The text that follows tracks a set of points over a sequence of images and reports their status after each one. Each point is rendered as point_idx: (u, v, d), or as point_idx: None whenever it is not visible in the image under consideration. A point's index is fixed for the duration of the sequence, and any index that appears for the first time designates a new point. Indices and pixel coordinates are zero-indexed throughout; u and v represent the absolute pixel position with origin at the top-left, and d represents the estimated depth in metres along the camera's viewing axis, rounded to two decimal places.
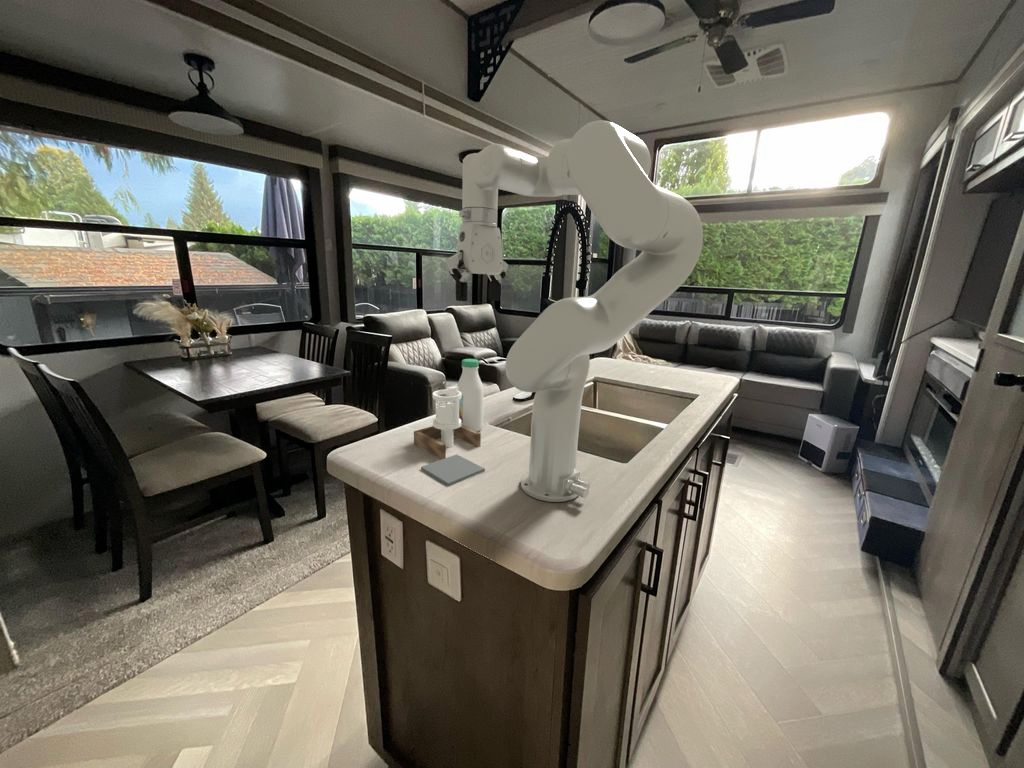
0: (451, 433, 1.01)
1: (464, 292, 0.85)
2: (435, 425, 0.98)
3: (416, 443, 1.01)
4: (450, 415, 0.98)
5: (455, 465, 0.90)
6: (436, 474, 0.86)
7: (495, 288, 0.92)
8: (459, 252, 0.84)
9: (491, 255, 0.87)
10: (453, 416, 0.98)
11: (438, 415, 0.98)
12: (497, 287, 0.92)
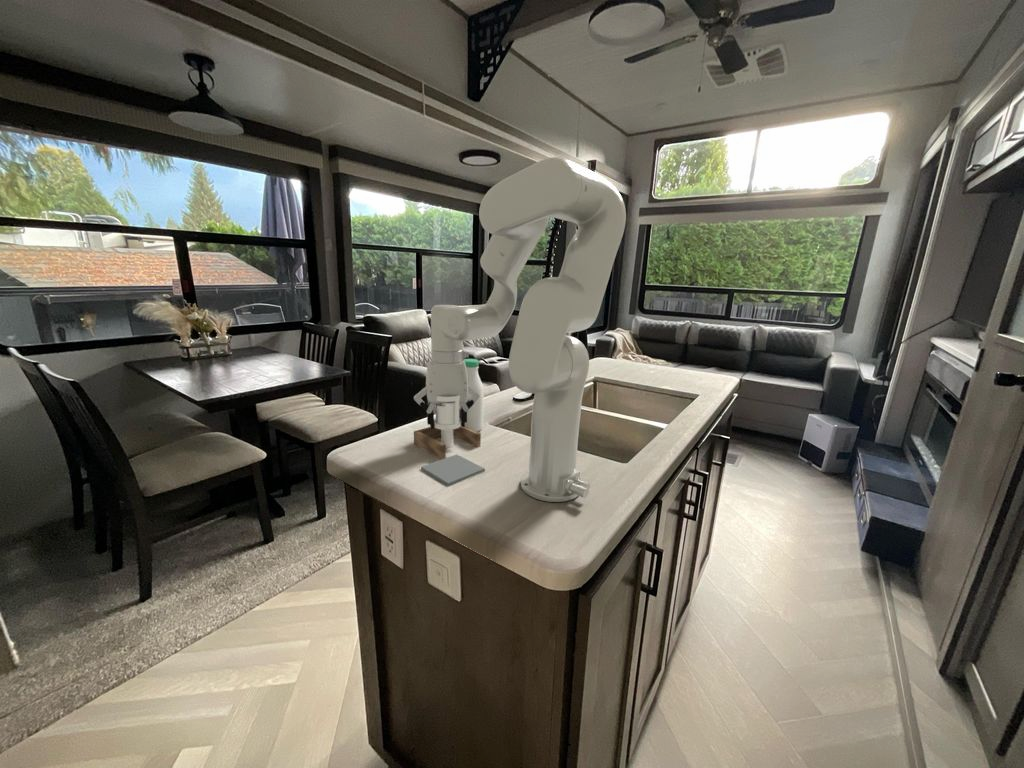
0: (451, 433, 1.01)
1: None
2: (435, 425, 0.98)
3: (416, 443, 1.01)
4: (450, 415, 0.98)
5: (455, 465, 0.90)
6: (436, 474, 0.86)
7: None
8: (468, 386, 1.00)
9: None
10: (453, 416, 0.98)
11: (438, 415, 0.98)
12: None
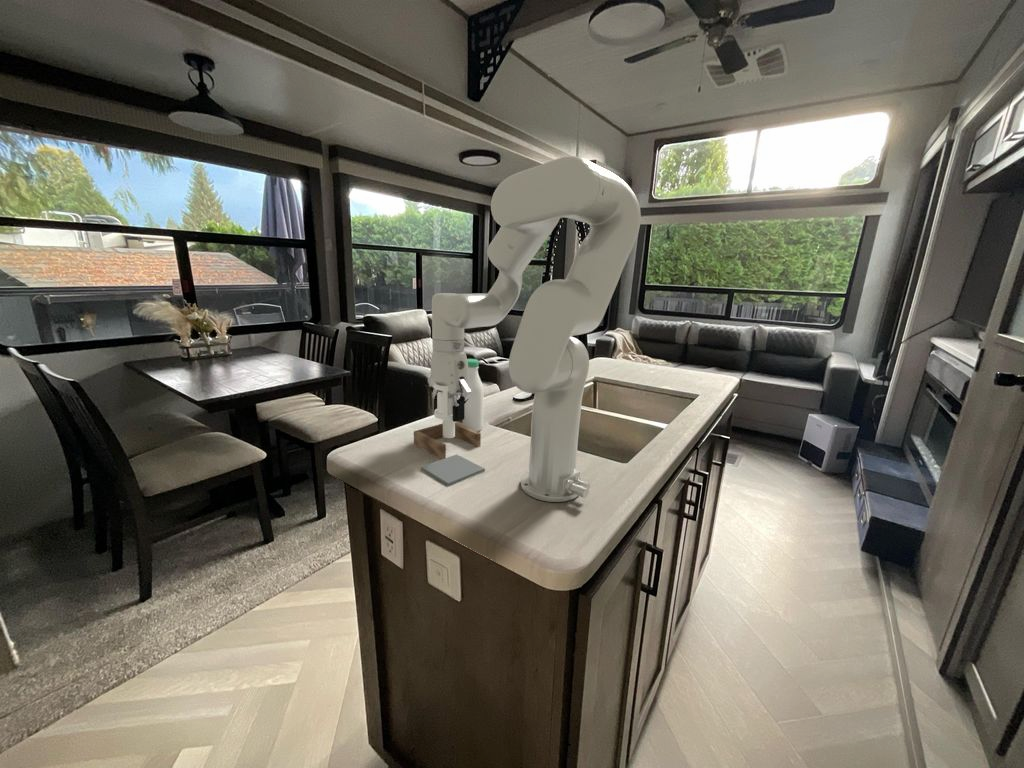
0: (447, 424, 0.99)
1: None
2: None
3: (416, 443, 1.01)
4: (440, 404, 0.97)
5: (455, 465, 0.90)
6: (436, 474, 0.86)
7: None
8: (461, 380, 0.94)
9: None
10: None
11: None
12: None
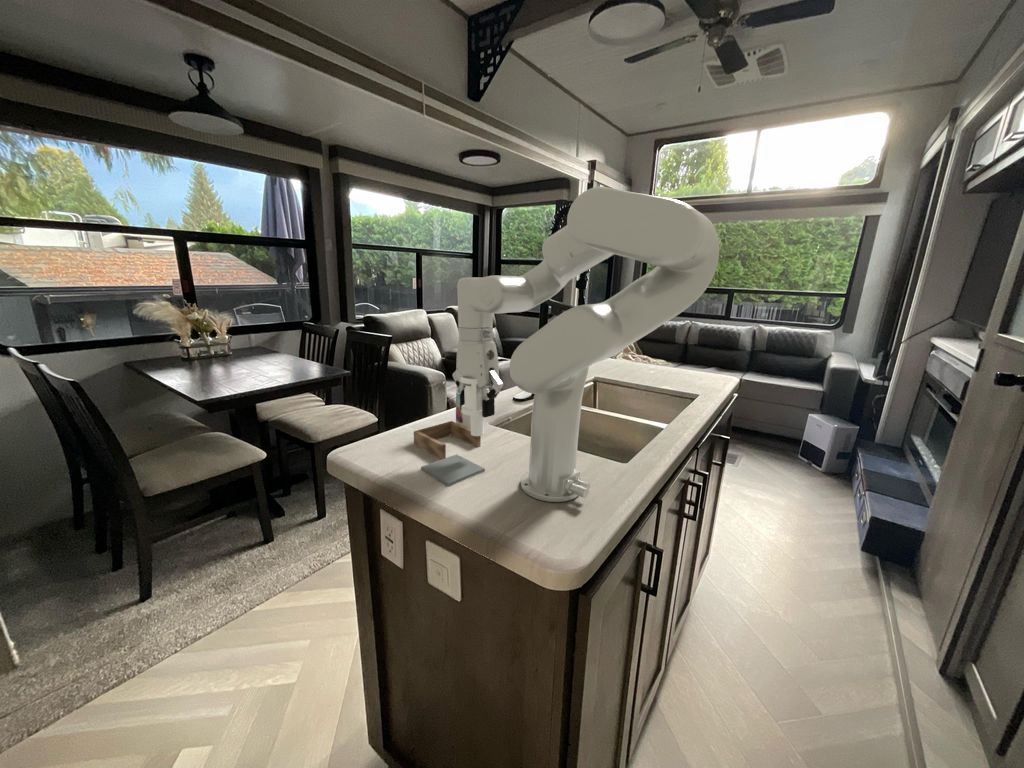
0: (475, 421, 0.91)
1: (493, 407, 0.90)
2: None
3: (416, 443, 1.01)
4: (468, 399, 0.89)
5: (455, 465, 0.90)
6: (436, 474, 0.86)
7: None
8: (491, 372, 0.86)
9: None
10: (471, 401, 0.89)
11: None
12: None
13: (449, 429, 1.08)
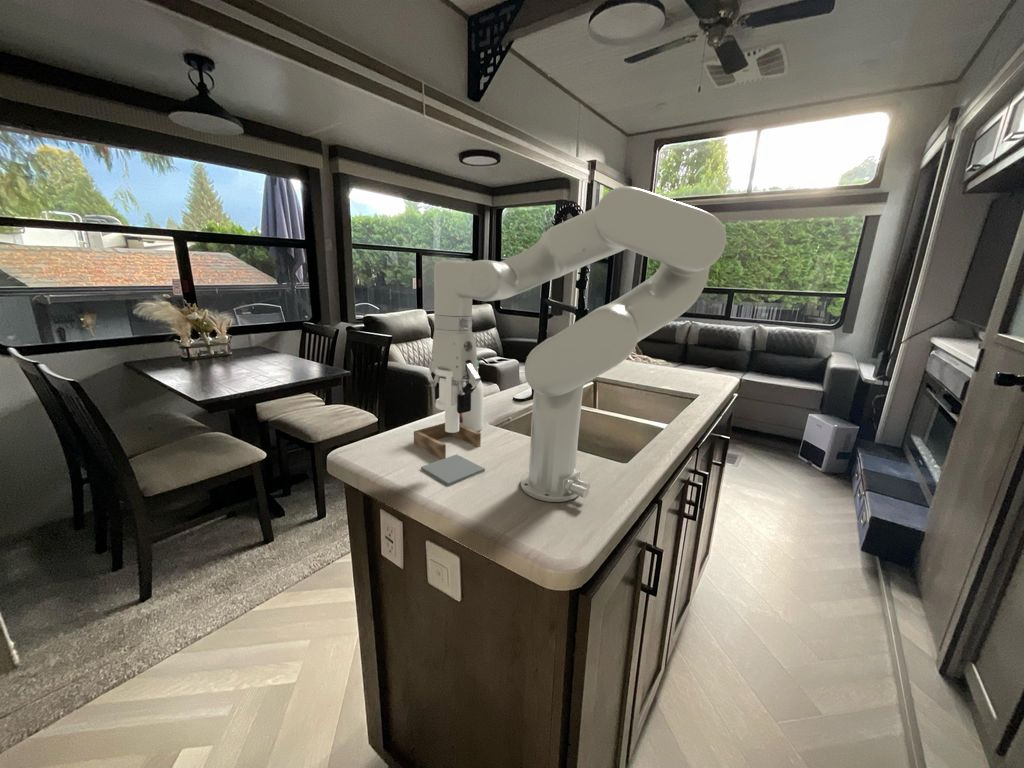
0: (450, 416, 0.84)
1: (469, 402, 0.83)
2: None
3: (416, 443, 1.01)
4: (443, 392, 0.82)
5: (455, 465, 0.90)
6: (436, 474, 0.86)
7: None
8: (468, 364, 0.79)
9: None
10: None
11: None
12: None
13: None
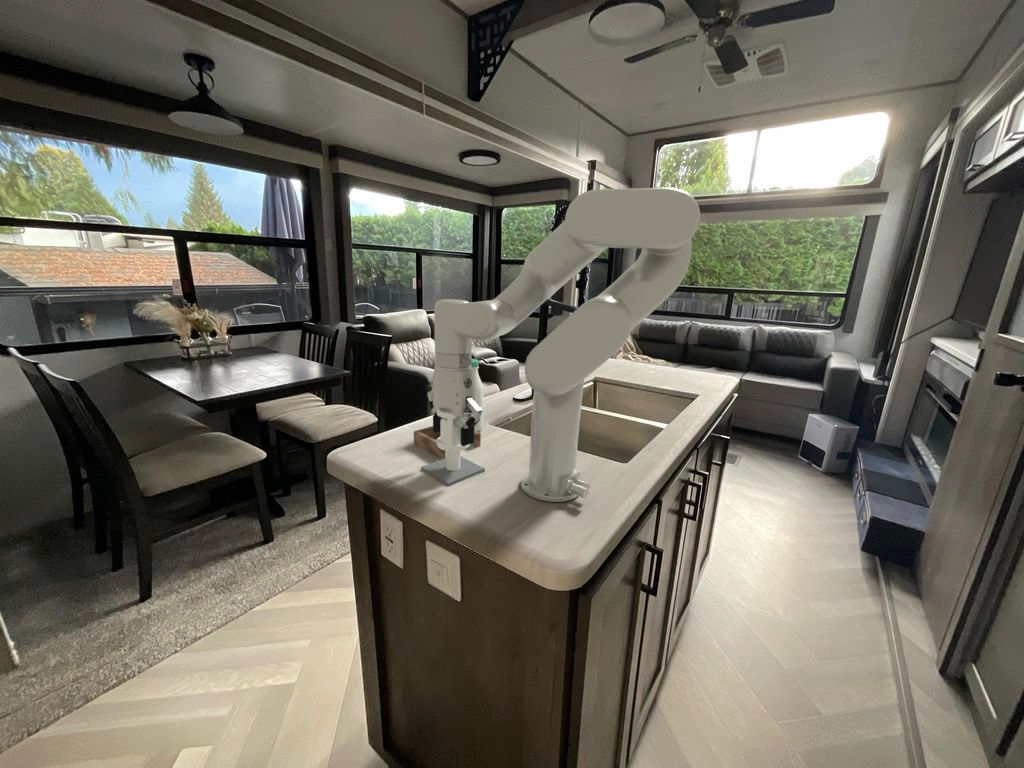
0: (451, 455, 0.87)
1: (473, 434, 0.84)
2: None
3: (416, 443, 1.01)
4: (444, 433, 0.84)
5: None
6: (436, 474, 0.86)
7: None
8: (469, 399, 0.81)
9: None
10: None
11: None
12: None
13: None
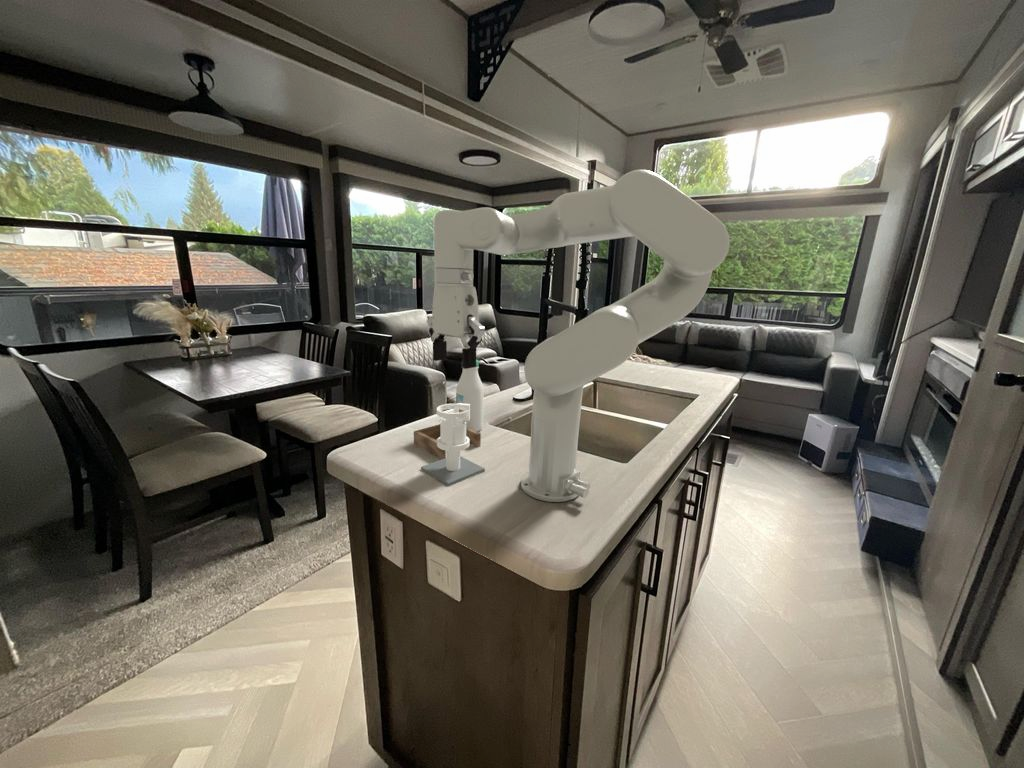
0: (451, 455, 0.87)
1: None
2: None
3: (416, 443, 1.01)
4: (444, 433, 0.84)
5: None
6: (436, 474, 0.86)
7: (444, 347, 0.86)
8: (470, 317, 0.77)
9: None
10: None
11: None
12: (446, 345, 0.86)
13: None
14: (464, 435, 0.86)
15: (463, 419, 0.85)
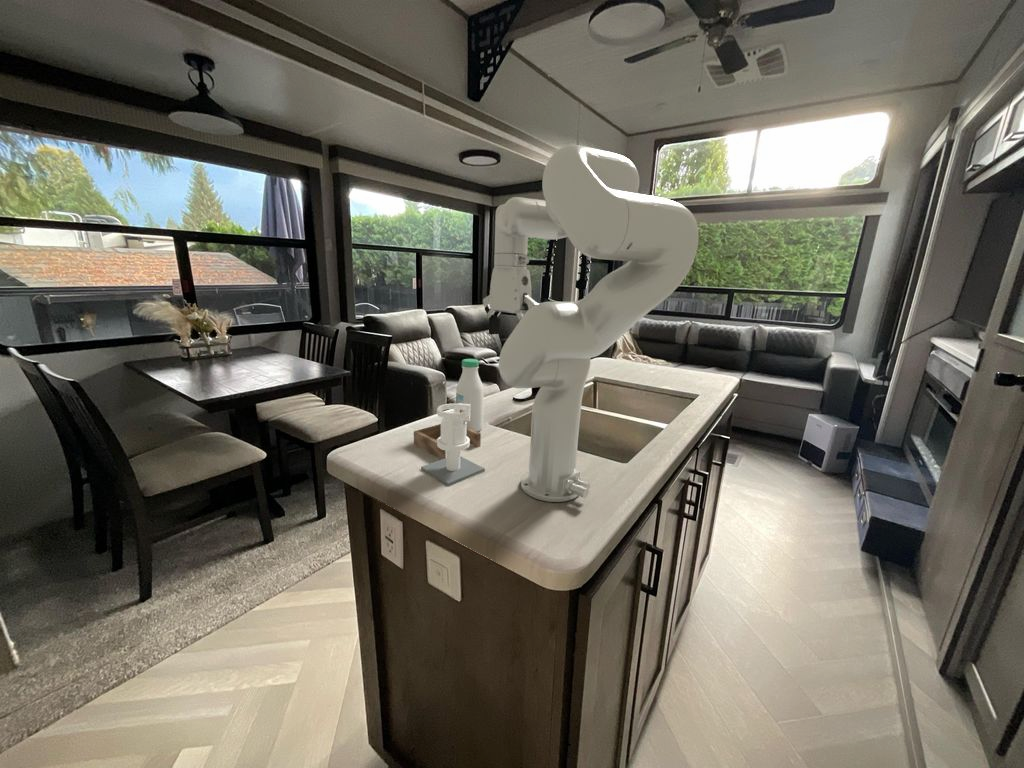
0: (451, 455, 0.87)
1: None
2: None
3: (416, 443, 1.01)
4: (444, 433, 0.84)
5: None
6: (436, 474, 0.86)
7: (497, 322, 1.00)
8: (525, 295, 0.91)
9: None
10: (447, 436, 0.84)
11: None
12: (499, 321, 1.00)
13: None
14: (464, 435, 0.86)
15: (463, 419, 0.85)
